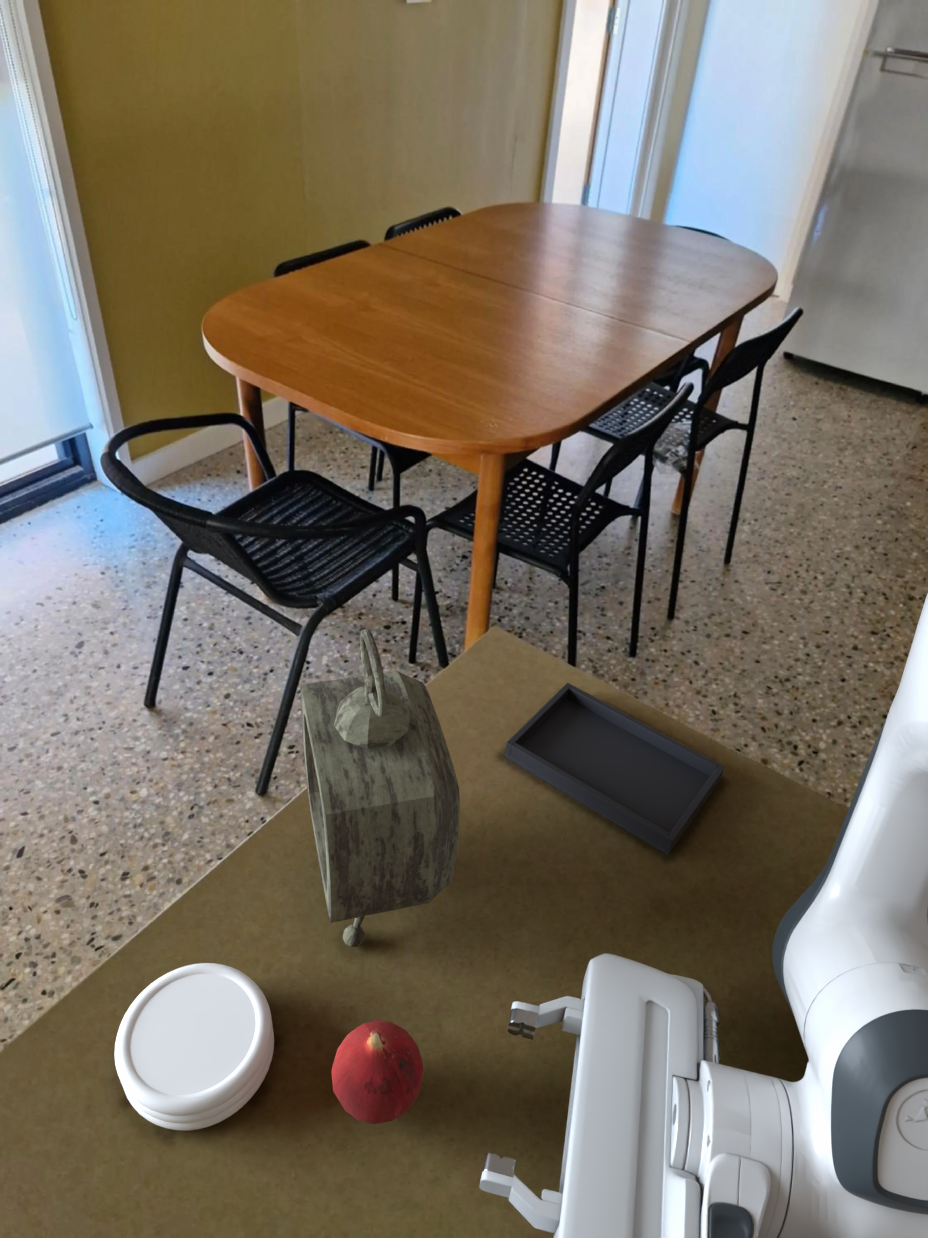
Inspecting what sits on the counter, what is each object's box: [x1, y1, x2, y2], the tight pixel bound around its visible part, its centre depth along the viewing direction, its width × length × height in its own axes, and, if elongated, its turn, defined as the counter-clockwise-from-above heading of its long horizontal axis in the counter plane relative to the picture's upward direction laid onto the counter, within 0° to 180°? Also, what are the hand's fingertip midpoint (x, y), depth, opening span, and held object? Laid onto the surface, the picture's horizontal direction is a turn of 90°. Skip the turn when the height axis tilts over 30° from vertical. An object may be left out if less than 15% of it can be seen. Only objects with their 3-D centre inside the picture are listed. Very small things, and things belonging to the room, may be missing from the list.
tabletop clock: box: [299, 628, 461, 948], centre depth 65 cm, size 14×9×25 cm, turn 15°
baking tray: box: [503, 682, 726, 856], centre depth 83 cm, size 17×11×2 cm, turn 53°
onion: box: [331, 1019, 424, 1125], centre depth 57 cm, size 6×6×8 cm
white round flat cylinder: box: [113, 962, 275, 1131], centre depth 59 cm, size 10×10×4 cm
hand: (496, 1088), depth 55 cm, fingers open, 8 cm apart
